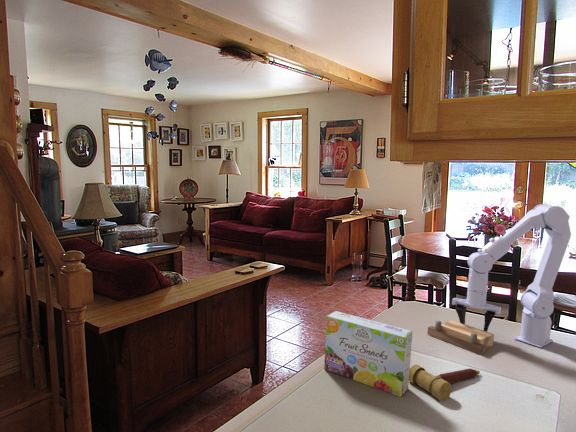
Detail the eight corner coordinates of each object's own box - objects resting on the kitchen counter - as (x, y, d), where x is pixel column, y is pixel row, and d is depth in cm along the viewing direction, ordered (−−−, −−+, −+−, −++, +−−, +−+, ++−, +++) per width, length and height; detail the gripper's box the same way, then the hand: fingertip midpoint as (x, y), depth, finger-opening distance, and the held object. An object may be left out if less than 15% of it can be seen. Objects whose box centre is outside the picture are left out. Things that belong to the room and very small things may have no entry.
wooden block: (451, 331, 141) (452, 320, 141) (492, 346, 130) (494, 334, 130) (438, 336, 137) (439, 324, 136) (479, 352, 126) (480, 339, 125)
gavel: (464, 355, 115) (497, 372, 107) (462, 371, 116) (494, 389, 107) (408, 365, 105) (439, 384, 96) (405, 383, 106) (437, 403, 97)
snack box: (322, 370, 110) (325, 315, 108) (333, 363, 114) (335, 309, 113) (401, 398, 98) (406, 336, 96) (409, 388, 102) (413, 329, 101)
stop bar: (431, 333, 139) (432, 318, 138) (484, 353, 125) (485, 337, 124) (427, 334, 137) (428, 319, 137) (480, 354, 123) (482, 338, 123)
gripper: (504, 291, 135) (500, 332, 136) (457, 283, 143) (454, 321, 145) (499, 296, 129) (495, 338, 131) (451, 287, 138) (448, 327, 139)
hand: (473, 330), depth 137 cm, fingers open, 6 cm apart
